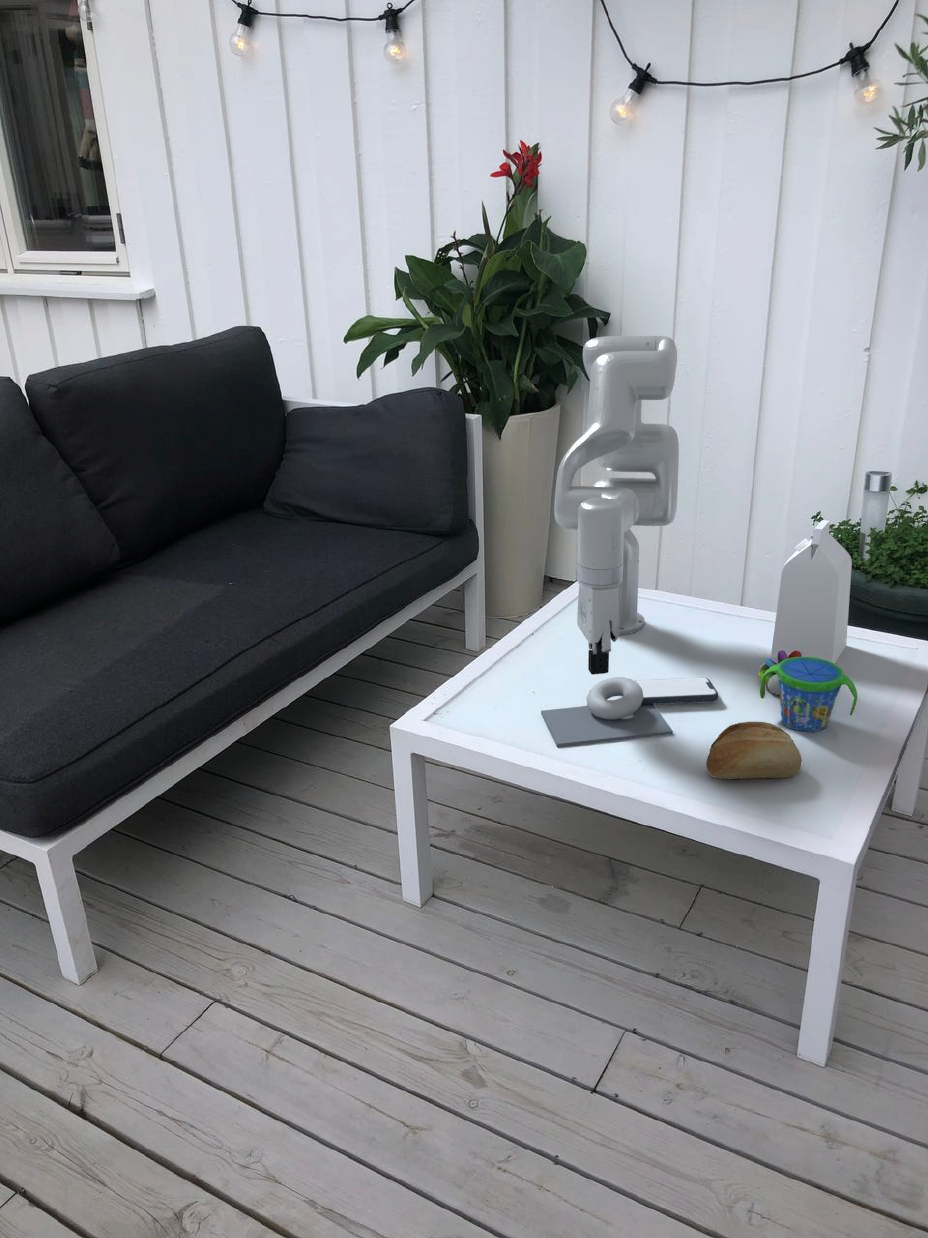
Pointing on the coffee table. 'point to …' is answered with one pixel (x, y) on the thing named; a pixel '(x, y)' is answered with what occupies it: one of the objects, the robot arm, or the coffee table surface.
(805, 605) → the milk
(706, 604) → the coffee table surface
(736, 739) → the bread roll
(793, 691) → the snack cup
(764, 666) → the multicolored rounded-lobe toy
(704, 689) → the smartphone
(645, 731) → the mat
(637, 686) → the donut
